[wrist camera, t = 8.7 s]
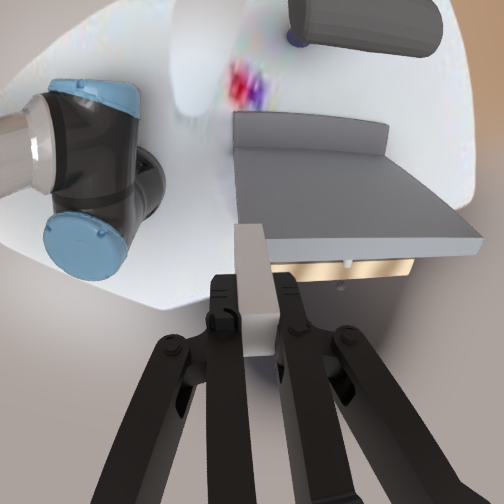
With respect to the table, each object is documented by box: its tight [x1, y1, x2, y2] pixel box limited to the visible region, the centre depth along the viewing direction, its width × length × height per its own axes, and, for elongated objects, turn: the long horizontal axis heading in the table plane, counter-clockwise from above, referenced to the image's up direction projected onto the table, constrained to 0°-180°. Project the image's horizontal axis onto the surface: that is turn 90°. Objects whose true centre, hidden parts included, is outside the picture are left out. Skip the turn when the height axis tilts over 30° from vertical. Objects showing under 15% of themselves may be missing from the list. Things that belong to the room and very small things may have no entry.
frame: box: [270, 258, 414, 290], centre depth 45 cm, size 24×4×18 cm, turn 88°
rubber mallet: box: [287, 0, 443, 58], centre depth 26 cm, size 12×8×30 cm, turn 94°
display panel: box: [234, 112, 483, 268], centre depth 38 cm, size 28×15×30 cm, turn 88°
